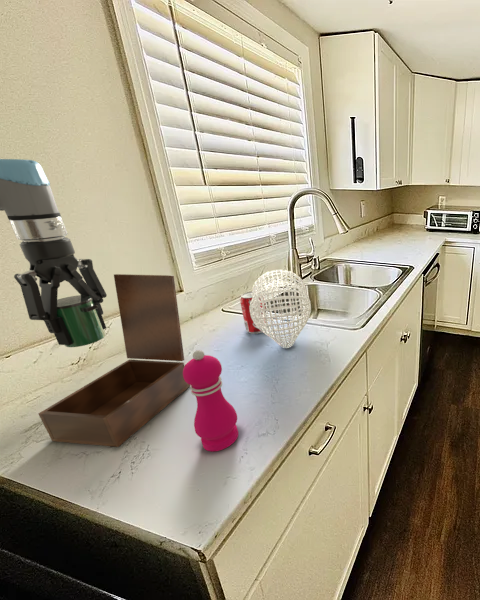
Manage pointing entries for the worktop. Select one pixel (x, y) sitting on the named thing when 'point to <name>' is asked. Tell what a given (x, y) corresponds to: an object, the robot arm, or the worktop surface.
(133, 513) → the worktop surface
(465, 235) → the worktop surface
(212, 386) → the pepper mill
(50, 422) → the chest
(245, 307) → the soda can
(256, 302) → the heart
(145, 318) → the lid
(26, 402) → the worktop surface
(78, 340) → the green pot
